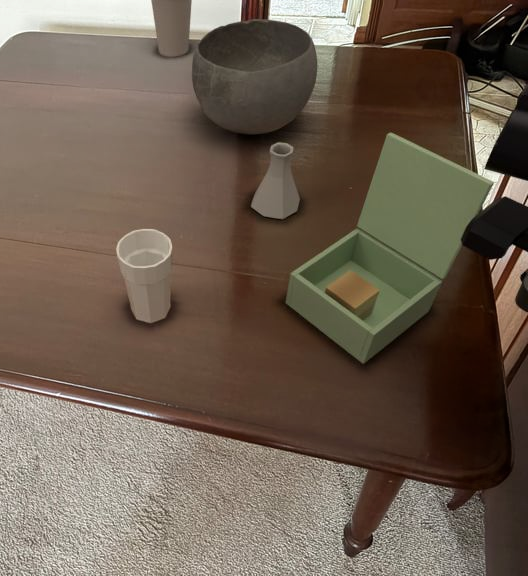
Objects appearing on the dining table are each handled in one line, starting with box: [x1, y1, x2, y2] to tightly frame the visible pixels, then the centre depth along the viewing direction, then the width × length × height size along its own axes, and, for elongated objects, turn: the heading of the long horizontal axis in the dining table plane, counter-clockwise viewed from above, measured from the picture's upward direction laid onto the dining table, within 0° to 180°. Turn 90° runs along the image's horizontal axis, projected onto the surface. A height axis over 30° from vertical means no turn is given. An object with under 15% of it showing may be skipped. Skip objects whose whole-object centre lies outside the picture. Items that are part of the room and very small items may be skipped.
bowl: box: [191, 18, 318, 135], centre depth 96 cm, size 20×20×15 cm
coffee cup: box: [151, 0, 193, 58], centre depth 117 cm, size 10×10×15 cm
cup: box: [116, 228, 173, 324], centre depth 71 cm, size 7×7×11 cm
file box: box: [285, 227, 444, 365], centre depth 70 cm, size 12×12×6 cm
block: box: [325, 270, 380, 320], centre depth 69 cm, size 4×4×4 cm
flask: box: [250, 141, 301, 220], centre depth 83 cm, size 7×7×10 cm
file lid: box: [356, 132, 495, 280], centre depth 65 cm, size 13×12×1 cm
